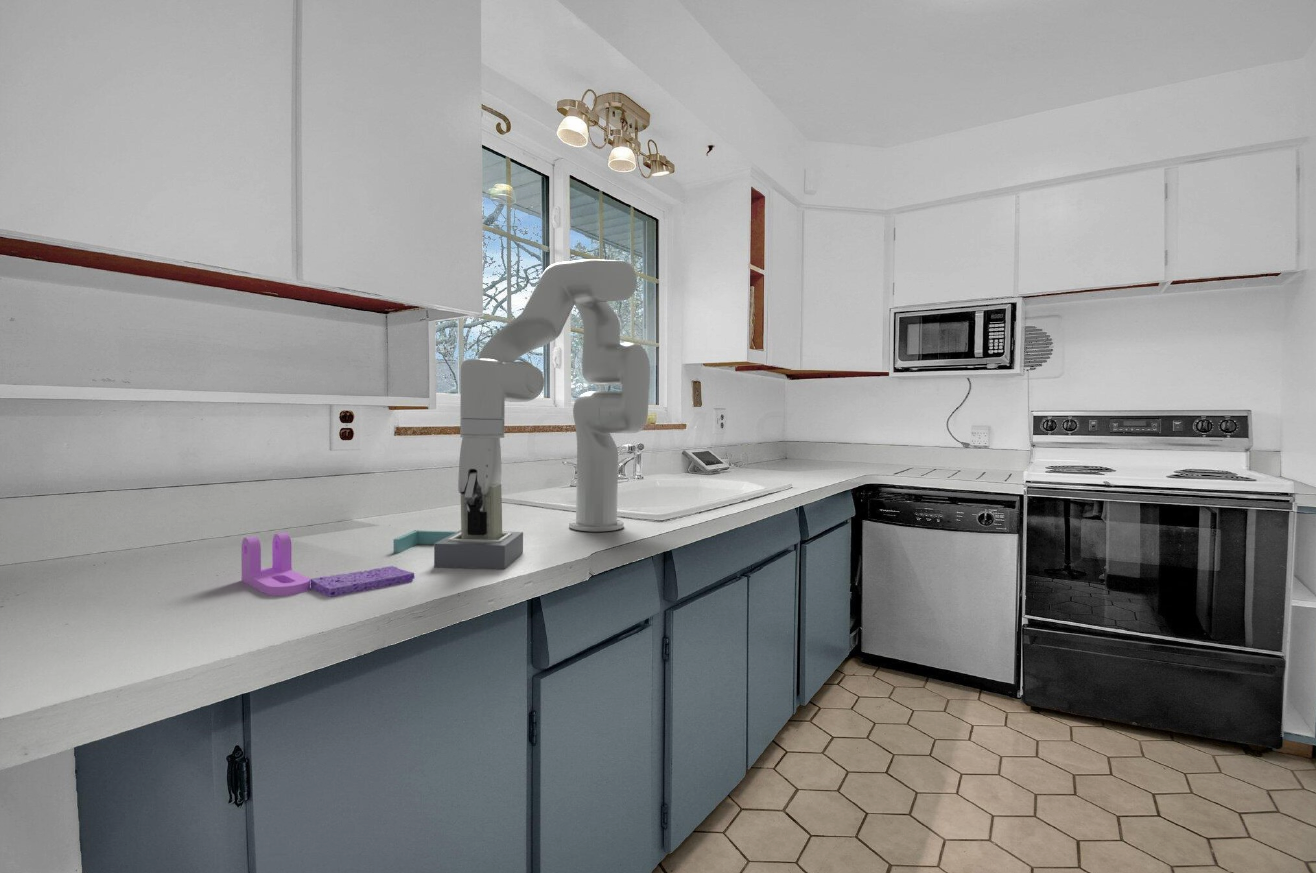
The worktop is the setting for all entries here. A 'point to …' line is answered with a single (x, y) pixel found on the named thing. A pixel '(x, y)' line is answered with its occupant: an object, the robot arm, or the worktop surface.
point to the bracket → (281, 573)
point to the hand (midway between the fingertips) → (481, 530)
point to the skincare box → (493, 515)
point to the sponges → (360, 581)
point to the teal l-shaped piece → (419, 539)
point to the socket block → (478, 551)
